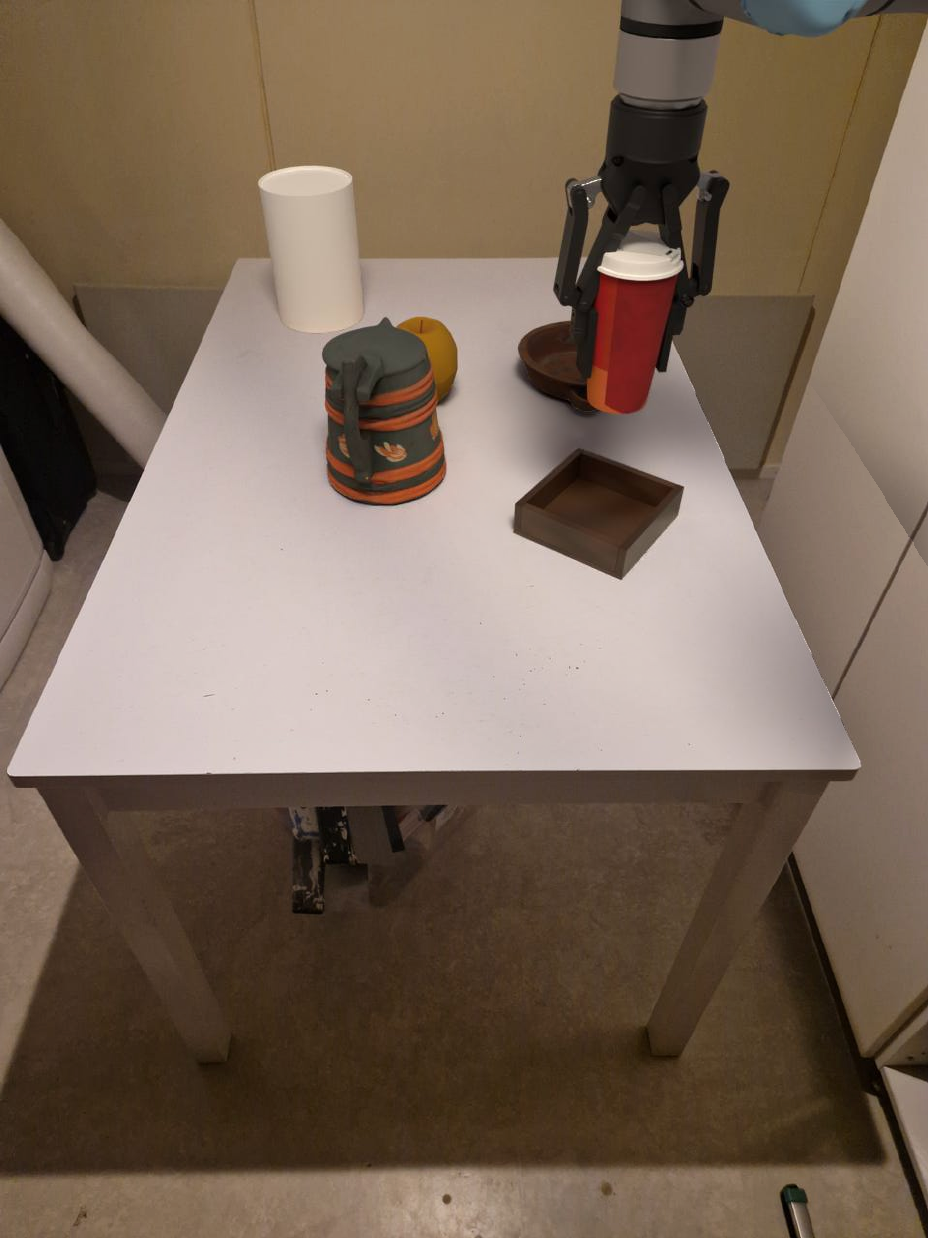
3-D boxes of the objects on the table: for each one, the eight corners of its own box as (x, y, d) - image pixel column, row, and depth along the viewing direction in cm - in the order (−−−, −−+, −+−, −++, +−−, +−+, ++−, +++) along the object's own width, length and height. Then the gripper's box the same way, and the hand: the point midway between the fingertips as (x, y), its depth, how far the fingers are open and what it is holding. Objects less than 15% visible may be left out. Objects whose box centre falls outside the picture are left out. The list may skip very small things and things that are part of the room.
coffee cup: (671, 392, 84) (700, 238, 73) (637, 429, 79) (664, 270, 68) (596, 370, 87) (614, 220, 76) (559, 404, 82) (573, 249, 71)
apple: (391, 422, 110) (384, 339, 102) (385, 386, 117) (378, 305, 109) (463, 416, 111) (462, 333, 103) (453, 380, 118) (452, 300, 110)
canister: (296, 293, 139) (277, 163, 125) (374, 299, 137) (363, 168, 123) (267, 328, 130) (243, 192, 116) (350, 336, 128) (335, 198, 114)
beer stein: (434, 535, 93) (429, 372, 79) (307, 527, 94) (279, 365, 80) (452, 442, 107) (449, 289, 93) (340, 437, 108) (321, 284, 94)
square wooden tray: (678, 515, 96) (684, 486, 93) (621, 580, 88) (626, 550, 85) (575, 475, 102) (578, 446, 99) (513, 532, 94) (514, 503, 91)
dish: (520, 421, 110) (522, 387, 107) (513, 344, 126) (514, 312, 122) (650, 421, 110) (656, 387, 107) (627, 344, 126) (632, 312, 122)
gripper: (760, 79, 68) (703, 342, 84) (525, 89, 66) (513, 358, 82) (801, 102, 63) (732, 379, 79) (547, 114, 60) (529, 396, 77)
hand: (620, 368), depth 80 cm, fingers closed on coffee cup, 7 cm apart
